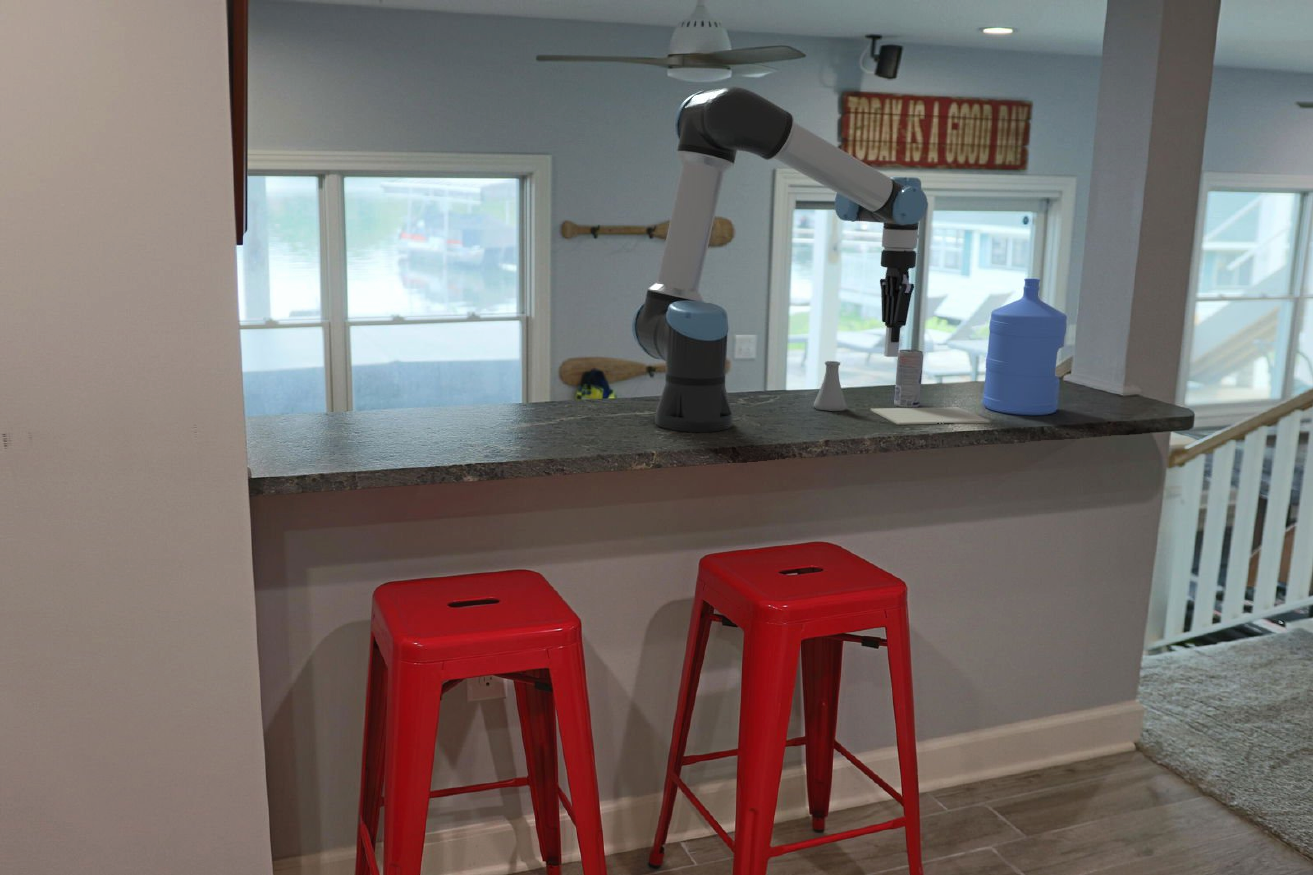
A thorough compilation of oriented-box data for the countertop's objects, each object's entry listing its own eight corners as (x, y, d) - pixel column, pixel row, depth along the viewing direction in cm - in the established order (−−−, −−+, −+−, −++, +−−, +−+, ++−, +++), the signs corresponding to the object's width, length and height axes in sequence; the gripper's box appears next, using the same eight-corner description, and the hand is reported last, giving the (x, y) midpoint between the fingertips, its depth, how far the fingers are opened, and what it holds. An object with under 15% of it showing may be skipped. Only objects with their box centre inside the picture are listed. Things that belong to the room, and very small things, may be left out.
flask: (845, 406, 238) (848, 360, 236) (848, 412, 231) (851, 365, 229) (812, 404, 239) (814, 358, 237) (813, 411, 232) (816, 364, 230)
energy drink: (918, 404, 242) (922, 350, 239) (919, 409, 237) (924, 353, 234) (893, 403, 243) (897, 348, 240) (894, 407, 238) (898, 352, 235)
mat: (898, 424, 221) (898, 422, 220) (870, 410, 234) (870, 408, 234) (989, 422, 225) (989, 420, 225) (957, 408, 238) (957, 407, 238)
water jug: (1013, 418, 230) (1027, 283, 224) (966, 403, 244) (978, 276, 238) (1073, 414, 236) (1088, 282, 229) (1024, 400, 250) (1036, 275, 244)
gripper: (928, 251, 236) (919, 360, 242) (902, 247, 249) (894, 351, 254) (895, 251, 235) (887, 361, 240) (871, 247, 247) (864, 351, 252)
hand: (891, 356), depth 247 cm, fingers closed
